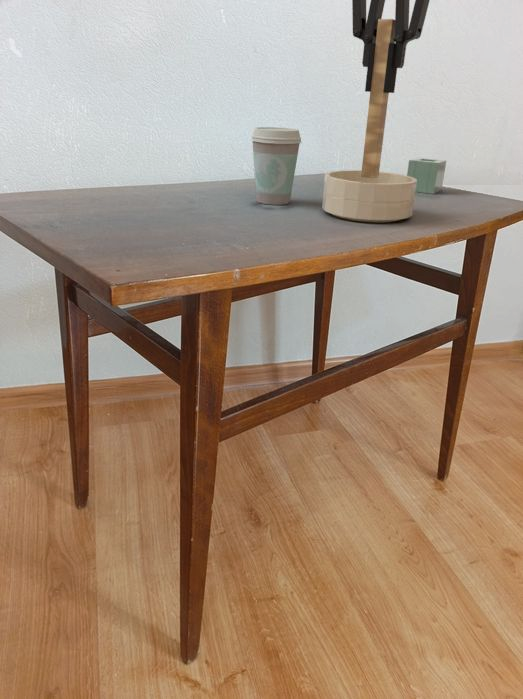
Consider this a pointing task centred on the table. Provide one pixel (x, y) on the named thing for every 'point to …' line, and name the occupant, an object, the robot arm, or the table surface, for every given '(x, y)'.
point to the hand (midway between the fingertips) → (379, 91)
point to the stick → (377, 101)
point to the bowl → (369, 196)
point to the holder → (427, 174)
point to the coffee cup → (275, 163)
